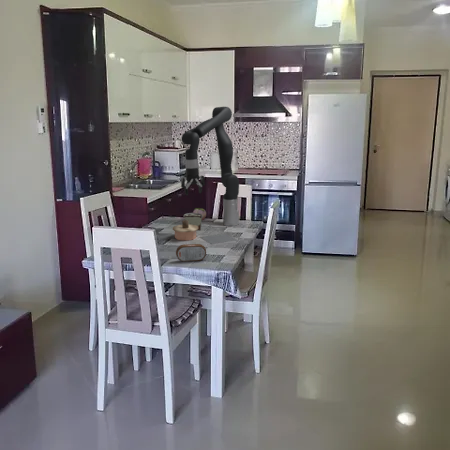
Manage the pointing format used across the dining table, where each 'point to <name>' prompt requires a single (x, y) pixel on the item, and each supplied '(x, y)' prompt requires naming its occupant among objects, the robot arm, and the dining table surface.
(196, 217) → the food container
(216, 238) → the mat
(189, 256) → the portable speaker
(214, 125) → the robot arm
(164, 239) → the dining table surface
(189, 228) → the lid
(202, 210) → the decorative fruit
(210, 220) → the dining table surface
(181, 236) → the bowl
